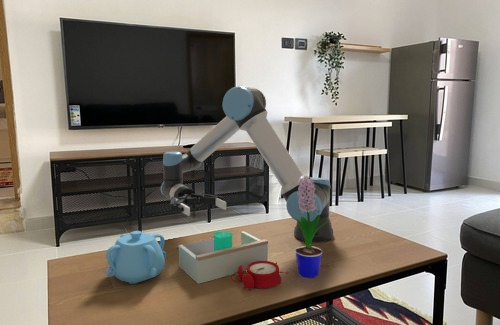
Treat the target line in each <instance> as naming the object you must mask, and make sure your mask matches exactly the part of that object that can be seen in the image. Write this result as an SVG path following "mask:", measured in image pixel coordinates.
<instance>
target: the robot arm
mask: <svg viewBox="0 0 500 325" xmlns="http://www.w3.org/2000/svg"><path fill="white" fill-rule="evenodd" d="M266 107H267V99H266V96H265V95H264V93H263V92H262V91H261V90H260V89H258V88H255V87H247V86H244V85H239V86H233V87H231V88H230V89H228V90H227V91H226V93H225V94H224V96H223V99H222V110H223V112H224V114H225V117H224V118H222V120H220V121H219V122H218V123H217V124H216V125H215V126H214V127H213V128H212V129H210V131H208V132H207V133H206V134H205V135H204V136H202V138H200V139H199V140H198V141H197V142H196V143H195V144H194V145H193V146H192V147H190V148H189V150H187V151H185V153H182V152H181V151H166V152H164V153H163V156H162V157H163V159H162V171H163V182H162V183H161V186H160V193H161V195H162V196H164V198H166V199H167V200H169V201H170V203H169V204H170V206H169V207H170V208H169V209H170V212H174V211H175V213H176V214H179V213H183V214H184V215H186V216H187V217H190V216H191V206H192V205H193V206H194V205H202V204H205V205H214V206H216V207H218V208H220V209H221V210H224V211H225V210H227V202H226V201H225V200H224V196H220V195H213V194H209V193H204V192H203V193H201V194H197V193H195V191H194V190H193V189H192V188H190V187H188V186H186V185H184V184H183V183H184V182H183V178H184V177H183V175H184V173H187V172H190V171H194V170H197V169H199V167H200V166H201V165H202V163H203V162H204V161H205V160H206V159H208V157H210V156H211V155H212V154H213V153H214V152H215V151H216V150H218V149H219V148H220V147H221V146H222V145H224V144H225V143H226V142H227V141H228V140H229V139H230V138H231V137H232V136H234V135H235V134H236V133H237V132H239V130H241V131H243V132H244V131H245V132H246V133H247V134H248V136H249V137H250V139H251V141H252V142H253V144H254V145H255V148H257V150H258V152H259V154H260V155H261V156H262V157H263V160H264V161H265V163H266V164H267V166H268V167H269V169H270V171H271V172H272V174H273V175H274V176H275V179H276V180H277V182H278V183H279V185H280V186H281V189H282V190H281V192H280V194H281V196H282V198H283V199H284V200H285V202H286V205H285V206H286V211H287V213H288V215H289V217H291V218H292V219H293V220H295V221H296V219H298V220H299V221H300V222H301V220H300V217H304V218H305V219H306V220H307V212H305V211H304V212H303V213H302V212H301V210H300V208H299V205H300V204H298V202H299V201H298V199H299V198H297V197H298V196H297V192H298V193H299V191H301V190H298V188H299V186H300V185H298V184H300V183H301V182H300V183H299V182H298V181H299V179H300V178H302V177H304V176H307V177H308V179H312V180H313V181H314V182H312V184H313V185H312V186H314V188H315V191H314V195H316V196H315V198H316V199H315V198H313V199H314V200H315V203H317V209H318V210H317V209H315V210H313V212H312V210H310V211H309V215H310V223H311V222H313V221H314V219H315V218H316V216H317V215H318V214H319V215H320V219H319V222H318V224H317V227H316V229H317V228H318V227H320V226H321V225H323V224H324V223H325V222H327V221H328V222H327V223H326V224H325V225H323V226H322V227H321V228H319V229H318V230H317V232H316V233H315V235H314V237H313V239H312V243H321V242H328V241H330V240H332V239H333V238H334V229H333V228H332V227H333V226H332V222H331V220H330V203H331V202H330V198H331V194H330V193H331V182H330V179H328V178H322V177H311V176H309V175H305V174H303V172H302V171H301V170H300V168H299V167H298V165H297V163H296V162H295V160H294V159H293V157H292V155H291V154H290V152H289V150H288V149H287V148H286V147H285V145H284V143H283V142H282V140H281V139H280V137H279V135H278V134H277V132H276V131H275V129H274V128H273V126H272V124H271V123H270V122H269V119H268V117H267V116H268V110H267V109H266ZM310 177H311V178H310ZM300 180H301V179H300ZM303 180H304V179H303ZM309 181H310V180H309ZM299 197H300V196H299ZM305 199H306V198H305ZM313 199H312V200H313ZM310 201H311V200H310ZM311 206H312V205H311ZM315 206H316V204H315ZM295 218H296V219H295ZM316 229H315V230H316ZM293 231H294V233H293V236H294V237H295V238H296V239H298V240H301V241H305V239H304V236H303V233H302V230H301V228H300V226H299V224H298V223H297V222H296V224H295V226H294V230H293Z"/></svg>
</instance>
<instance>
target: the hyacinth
mask: <svg viewBox="0 0 500 325" xmlns="http://www.w3.org/2000/svg"><path fill="white" fill-rule="evenodd" d="M307 176H308V175H306V176H304V177H302V178H300V179H301V180H300V179H299V181H298V182H299V183H300V182H301V183H300V184H298V185H300V186H299V188H298V190H301V191H299V193H298V192H297V196H298V197H297V198H299V199H298V201H299V202H298V204H300V205H299V208H300V210H301V212H302V213H303V212H304V211H305V212H307V220H306V219H305V218H304V217H300V220H301V222H300V221H299V220H298V219H296V218H295V219H296V220H295V221H296V224H297V223H298V224H299V226H300V228H301V230H302V233H303V236H304V239H305V245H301V246H300V245H299V246H298V247H296V248H295V249H294V250H295V257H296V266H297V274H298V275H299V276H300V277H303V278H309V279H311V278H313V279H314V278H316V277H318V276H319V275H320V268H321V263H322V254H323V250H322V249H321V248H320V247H317V246H315V245H314V246H313V245H312V243H313V242H312V239H313V237H314V235H315V233H316V232H317V230H318V229H319V228H321V227H322V226H323V225H325V224H326V223H327V222H328V221H327V222H325V223H324V224H323V225H321V226H320V227H318V228H317V229H316V227H317V224H318V222H319V219H320V215H319V214H318V215H317V216H316V218H315V219H314V221H313V222H311V223H310V215H309V211H310V210H312V212H313V210H315V209H317V203H315V200H314V199H313V198H315V196H316V195H314V191H315V188H314V186H312V185H313V184H312V182H314V181H313V180H312V179H308V177H307ZM309 177H310V178H311V176H309ZM303 179H304V180H303ZM309 180H310V181H309ZM299 196H300V197H299ZM305 198H306V199H305ZM312 199H313V200H312ZM315 199H316V198H315ZM310 200H311V201H310ZM315 204H316V206H315ZM311 205H312V206H311ZM317 210H318V209H317ZM315 229H316V230H315Z"/></svg>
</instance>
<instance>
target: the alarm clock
mask: <svg viewBox="0 0 500 325" xmlns="http://www.w3.org/2000/svg"><path fill="white" fill-rule="evenodd" d="M281 274H288V271H286V272H283V271H280V267H279V265H278V262H273V261H270V260H269V261H256V262H252V263H250V264H249V265H248V266H247V270H246V272H245V273H244V271H243V265H240V266H239V268H238V272H236V273H235V274H232V275H230V279H231V281H233V283H234V282H235V283H242V285H243V287H244V288H246V289H247V290H252V289H254V288H256V289H271V288H274V287H275V288H276V287H277V286H279V285H280V284H281V283H282V276H281ZM235 275H237V278H238V280H239V281H237V280H234V279H233V276H235Z"/></svg>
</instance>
